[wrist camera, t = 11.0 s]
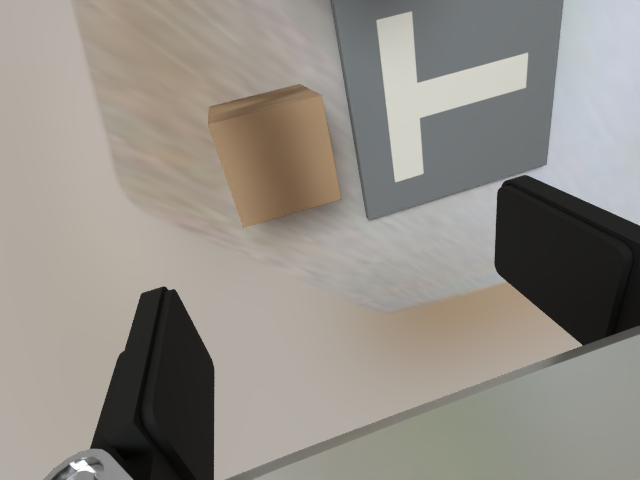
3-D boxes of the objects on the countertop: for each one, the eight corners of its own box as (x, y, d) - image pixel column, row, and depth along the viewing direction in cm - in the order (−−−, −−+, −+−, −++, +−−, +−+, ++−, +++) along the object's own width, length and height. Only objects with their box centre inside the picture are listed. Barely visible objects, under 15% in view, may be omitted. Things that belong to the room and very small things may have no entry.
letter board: (563, -73, 24) (571, -76, 24) (541, 162, 32) (546, 164, 32) (327, -18, 22) (330, -19, 22) (366, 217, 30) (369, 220, 30)
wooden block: (299, 83, 25) (321, 95, 19) (317, 169, 28) (341, 199, 22) (209, 106, 24) (207, 124, 19) (237, 192, 27) (243, 227, 22)
